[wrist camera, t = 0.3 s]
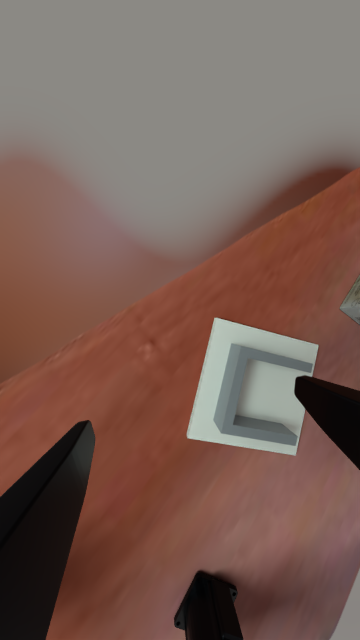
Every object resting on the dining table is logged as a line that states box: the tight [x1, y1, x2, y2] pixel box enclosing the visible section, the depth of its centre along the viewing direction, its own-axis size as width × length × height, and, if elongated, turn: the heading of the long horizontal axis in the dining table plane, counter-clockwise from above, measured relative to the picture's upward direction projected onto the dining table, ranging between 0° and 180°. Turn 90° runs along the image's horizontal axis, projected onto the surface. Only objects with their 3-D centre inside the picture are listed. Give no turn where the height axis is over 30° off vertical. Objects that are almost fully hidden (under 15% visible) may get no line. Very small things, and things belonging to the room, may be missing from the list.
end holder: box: [187, 318, 319, 455], centre depth 22 cm, size 16×16×4 cm
